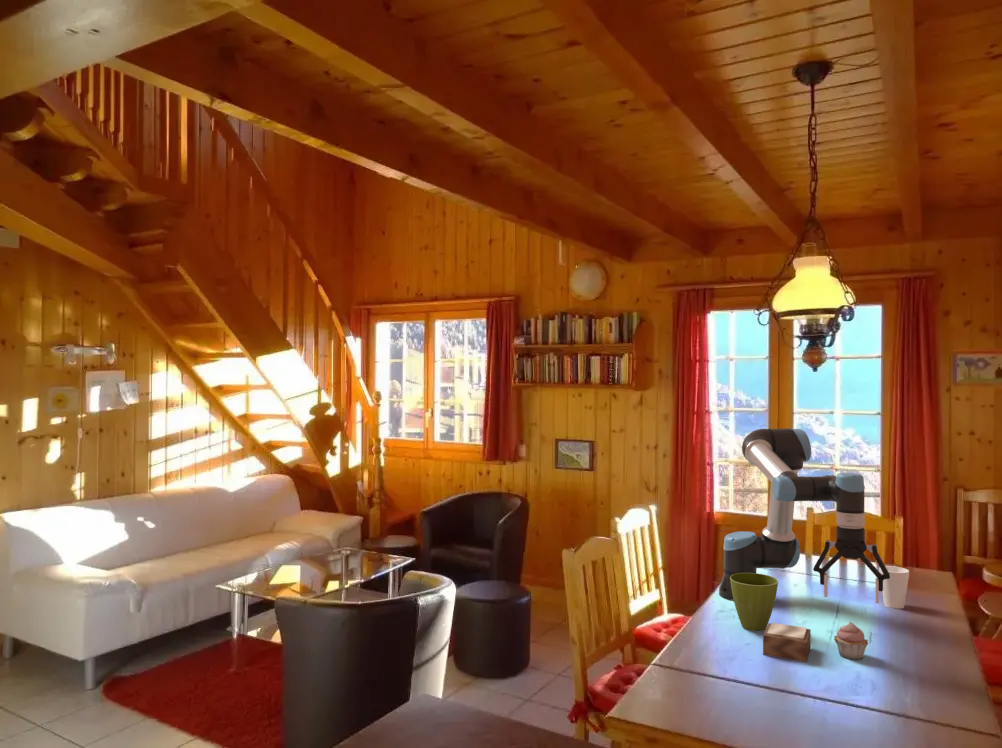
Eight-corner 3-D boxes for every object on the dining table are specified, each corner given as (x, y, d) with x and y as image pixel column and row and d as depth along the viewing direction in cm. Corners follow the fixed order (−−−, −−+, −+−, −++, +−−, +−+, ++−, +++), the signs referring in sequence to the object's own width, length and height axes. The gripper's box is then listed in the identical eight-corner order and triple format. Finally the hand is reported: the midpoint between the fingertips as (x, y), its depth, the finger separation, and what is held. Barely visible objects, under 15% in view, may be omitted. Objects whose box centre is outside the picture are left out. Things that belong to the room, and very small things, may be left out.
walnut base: (763, 654, 216) (763, 633, 216) (768, 641, 227) (768, 621, 227) (806, 661, 211) (806, 640, 211) (810, 648, 221) (810, 627, 222)
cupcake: (850, 648, 222) (849, 615, 222) (875, 659, 213) (875, 624, 213) (826, 652, 218) (826, 618, 218) (851, 663, 209) (851, 628, 210)
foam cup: (906, 611, 256) (906, 574, 256) (877, 606, 261) (877, 570, 261) (910, 604, 263) (910, 568, 263) (882, 600, 269) (882, 564, 269)
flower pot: (782, 637, 231) (781, 586, 231) (732, 634, 234) (732, 583, 234) (774, 621, 245) (774, 574, 245) (727, 618, 248) (727, 571, 248)
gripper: (803, 524, 218) (804, 596, 218) (898, 532, 207) (899, 608, 206) (805, 520, 225) (806, 590, 224) (898, 527, 213) (899, 601, 213)
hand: (851, 599), depth 215 cm, fingers open, 13 cm apart
